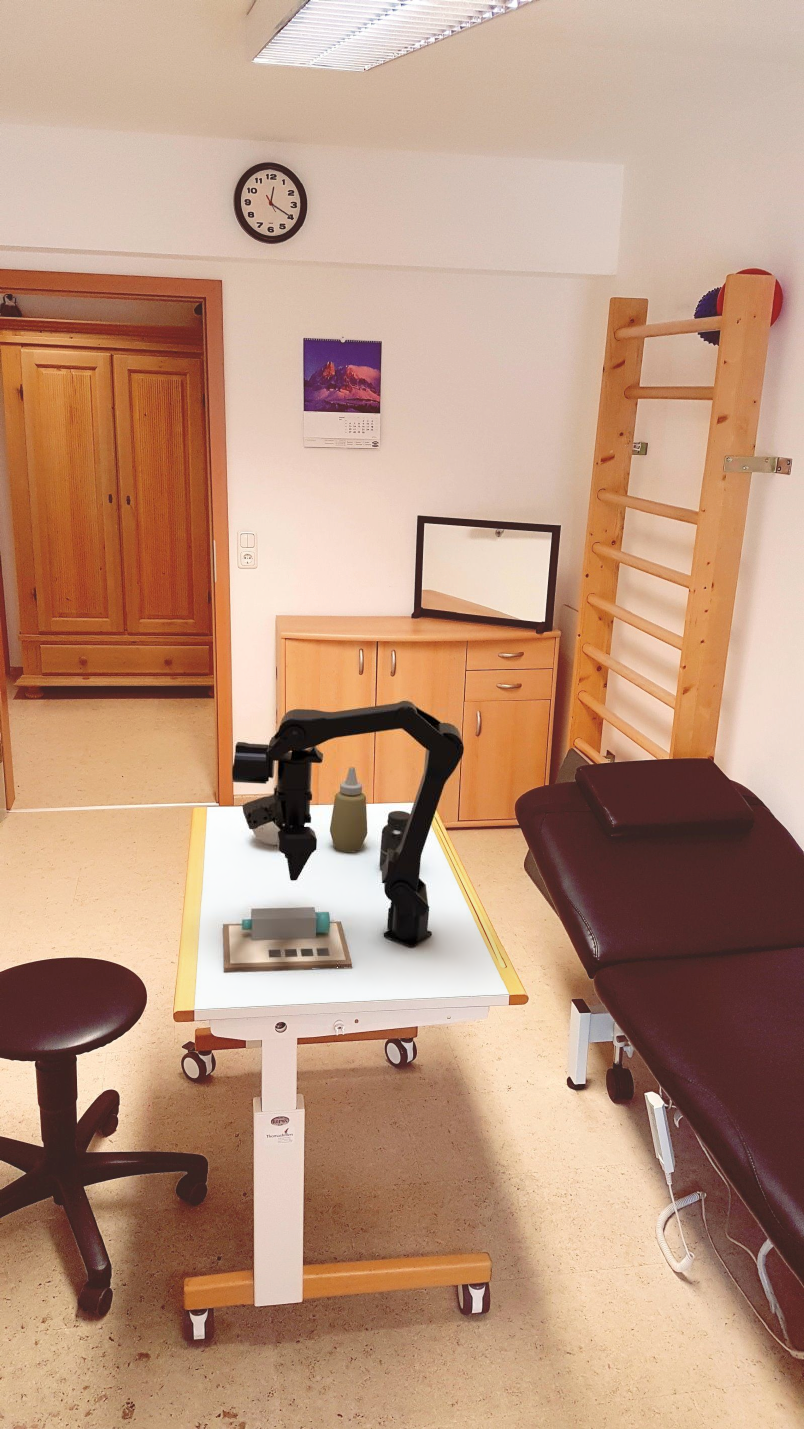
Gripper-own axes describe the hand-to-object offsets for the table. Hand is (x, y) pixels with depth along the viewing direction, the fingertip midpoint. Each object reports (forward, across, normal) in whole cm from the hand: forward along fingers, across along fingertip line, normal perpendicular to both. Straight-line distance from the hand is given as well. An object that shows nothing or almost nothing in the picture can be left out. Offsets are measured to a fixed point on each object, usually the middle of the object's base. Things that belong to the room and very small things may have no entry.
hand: (290, 868), depth 177 cm
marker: (+11, +3, -1) cm, 11 cm away
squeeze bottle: (+12, -36, +16) cm, 41 cm away
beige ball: (+12, -39, +1) cm, 41 cm away
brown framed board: (+12, +6, -1) cm, 13 cm away
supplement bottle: (+12, -24, +24) cm, 37 cm away
